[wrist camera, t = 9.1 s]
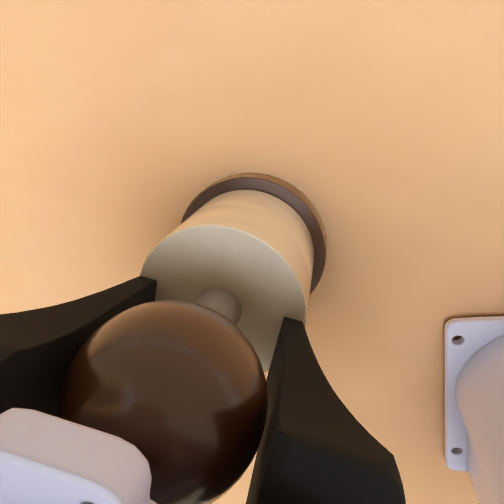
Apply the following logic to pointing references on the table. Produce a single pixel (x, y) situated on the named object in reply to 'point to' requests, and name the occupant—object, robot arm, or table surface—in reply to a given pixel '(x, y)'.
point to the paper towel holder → (202, 337)
